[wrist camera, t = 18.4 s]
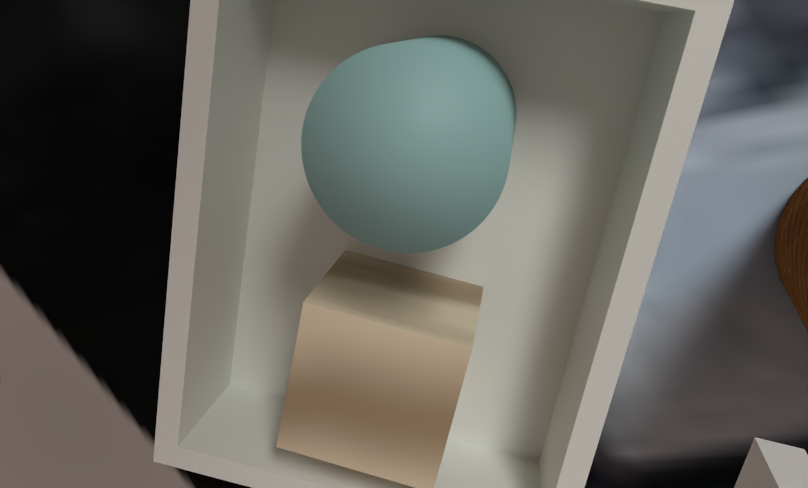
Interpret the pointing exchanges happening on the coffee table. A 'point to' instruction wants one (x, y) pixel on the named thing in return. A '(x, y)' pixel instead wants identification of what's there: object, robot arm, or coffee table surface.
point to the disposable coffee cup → (794, 250)
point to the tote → (463, 260)
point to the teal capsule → (410, 142)
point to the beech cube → (379, 368)
